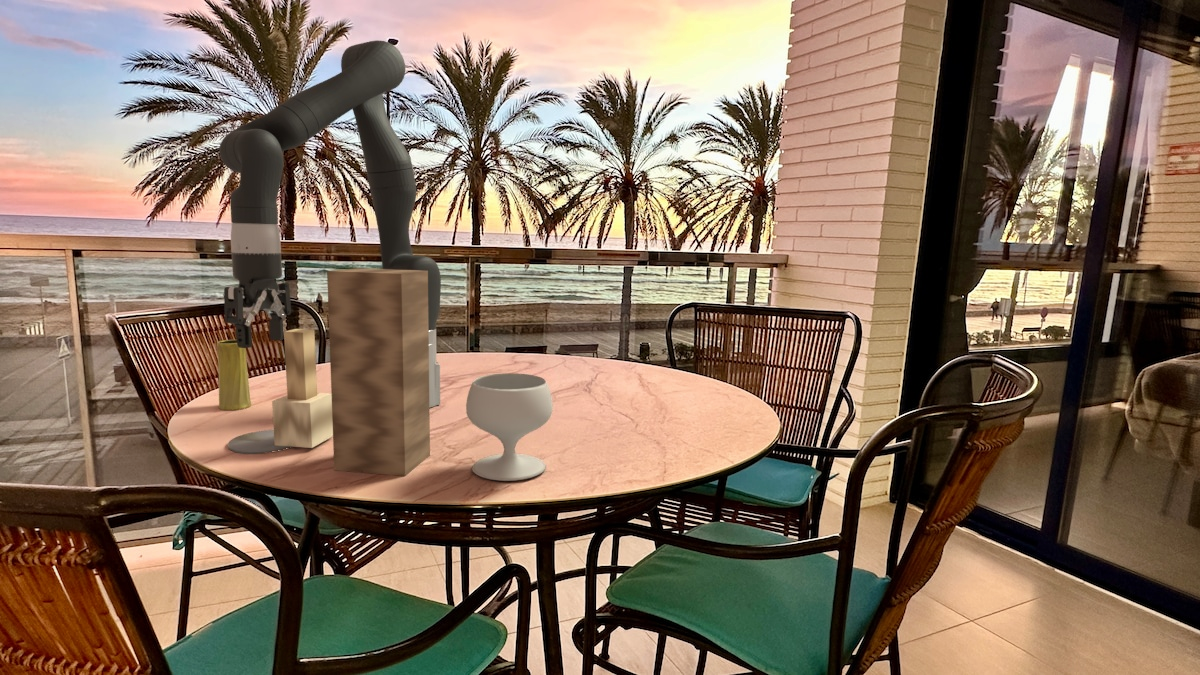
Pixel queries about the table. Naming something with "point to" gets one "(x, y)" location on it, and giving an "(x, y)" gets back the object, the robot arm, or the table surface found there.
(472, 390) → the chalice
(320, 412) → the mallet
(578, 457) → the table surface
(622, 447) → the table surface
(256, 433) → the grey flat disc
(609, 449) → the table surface
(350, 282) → the herringbone wood pillar
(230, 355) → the vase
